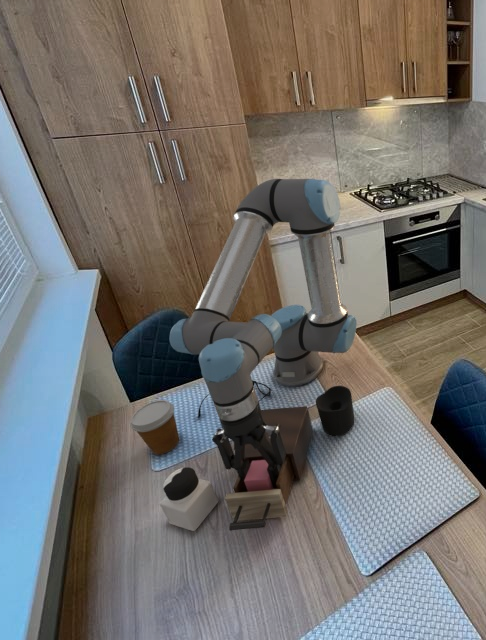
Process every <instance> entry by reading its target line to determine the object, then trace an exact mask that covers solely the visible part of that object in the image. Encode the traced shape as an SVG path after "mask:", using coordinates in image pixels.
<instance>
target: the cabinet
mask: <svg viewBox="0 0 486 640" xmlns="http://www.w3.org/2000/svg"><path fill="white" fill-rule="evenodd" d="M261 411H262V416H263V420H264V422H266V424H267V426H273V427H274V426H275V424H280V425H281V427H280V431H279V432H280V435H281V438H282V442H283V445H284V448H285V451H286V456H290V458H291V461H292V465H293V468H294V472H295V475H294V479H293V482H297V481H301V479H302V475H303V472H304V468H305V465H306V461H307V457H308V454H309V449H310V447H311V442H312V438H313V435H314V429H313V428H314V427H313V423H312V421H311V416H310V412H309V407H308V405H305V406H304V405H303V406H293V407H292V406H291V407H277V408H266V409H261ZM265 435H266V439H267V440H268V442H269V443H270V445H271V441H270V439H271V438H268V437H269V436H268V433H266V432H265ZM271 446H272V445H271ZM260 458H263V456H262V455H261V454H260V452H259V451H258V450H257V449H254V447H253V446H252V444H246V445H245V460H249V459H260ZM245 460H244V461H245Z"/></svg>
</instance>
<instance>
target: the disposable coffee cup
mask: <svg viewBox="0 0 486 640" xmlns="http://www.w3.org/2000/svg"><path fill="white" fill-rule="evenodd" d="M129 425H130V428H131V430H133V431H135V432H136V433H137V434H138V435H139V437H140V438H141V440H142V441H143V442H144V443H145V444H146V445H147V447H148V448H149V450H150V451H151V452H152V453H153V454H154V455H164V454H166V453H169V452H171V451H173V449H175V448H176V447H177V446H178V444H179V443H180V435H179V430H178V426H177V422H176V417H175V406H174V404H173V403H172V402H170V401H169V400H167V399H156V400H153V401H150V402H148V403H145V404H143V405H142V406H140V407H139V408H138V409H136V410H135V411H134V413H132V415H131V418H130V423H129Z"/></svg>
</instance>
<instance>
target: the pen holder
mask: <svg viewBox="0 0 486 640" xmlns="http://www.w3.org/2000/svg"><path fill="white" fill-rule="evenodd" d="M353 403H354V402H353V396H352V391H351V390H350V389H349V388H348V387H347V386H344V385H333V386H331V387H330V388H328V389H326V391H324V392H323V393H321V394H319V396H317V397H316V399H315V406H316V409H317V414H318V416H319V417H318V418H319V420H320V424H321V427H322V430H323V432H324V433H325V434H326V435H327V436H330V437H335V438H337V437H340V436H344V435H345V434H347V433H349V432H350V431H351V429H352V428H353V426H354V425H355V412H354V404H353Z"/></svg>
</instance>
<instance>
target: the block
mask: <svg viewBox="0 0 486 640" xmlns="http://www.w3.org/2000/svg"><path fill="white" fill-rule="evenodd" d="M267 468H268V463H267V462H266V461H265V460H258V461H252V463H251V465H250V468H249V470H248V473H247V475H246V477H245V480H244V482H245V485H246V488H247V490H248V492H252V491H263V490H273V486H272V483H271V480H270V477H269V474H268V471H267Z"/></svg>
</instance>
